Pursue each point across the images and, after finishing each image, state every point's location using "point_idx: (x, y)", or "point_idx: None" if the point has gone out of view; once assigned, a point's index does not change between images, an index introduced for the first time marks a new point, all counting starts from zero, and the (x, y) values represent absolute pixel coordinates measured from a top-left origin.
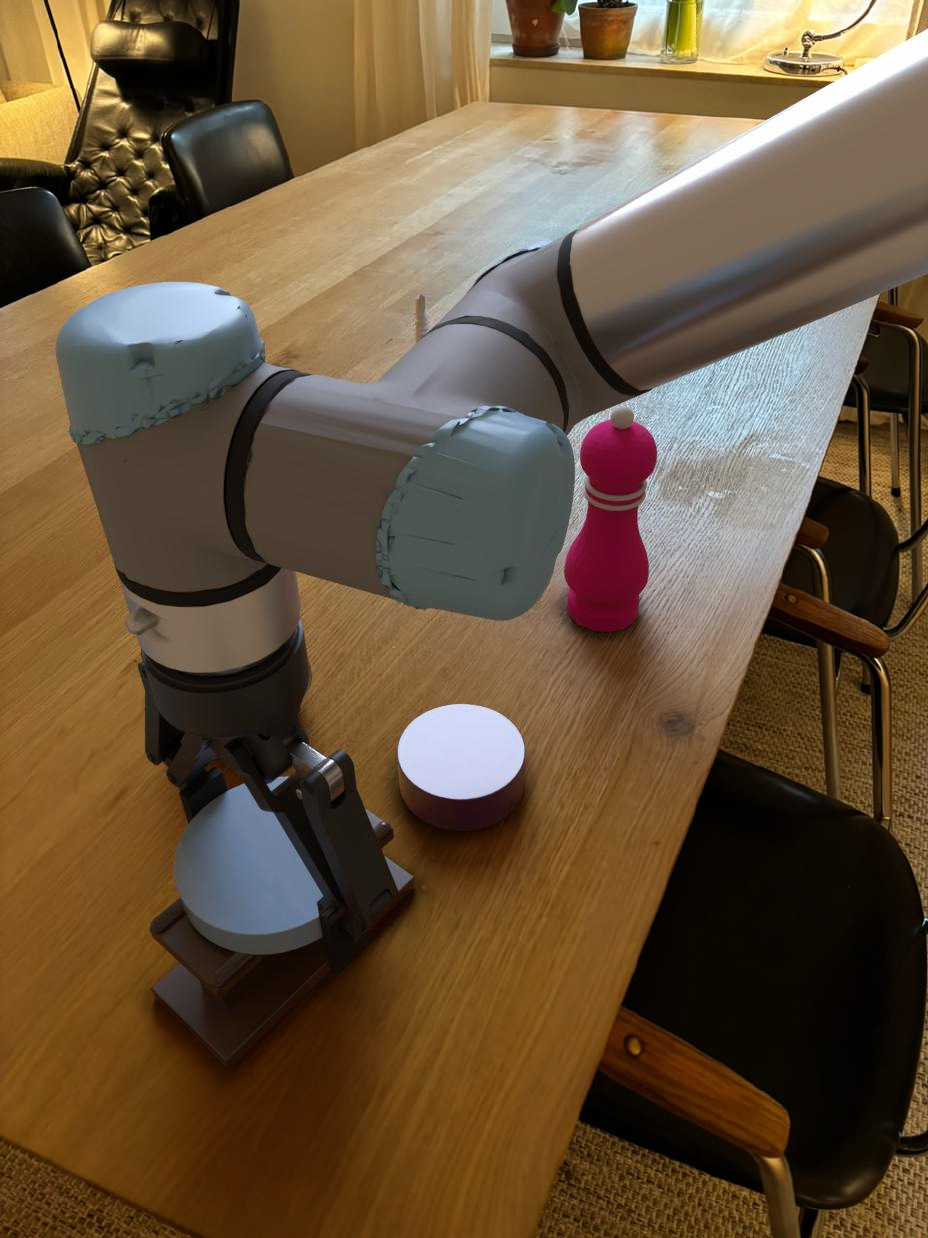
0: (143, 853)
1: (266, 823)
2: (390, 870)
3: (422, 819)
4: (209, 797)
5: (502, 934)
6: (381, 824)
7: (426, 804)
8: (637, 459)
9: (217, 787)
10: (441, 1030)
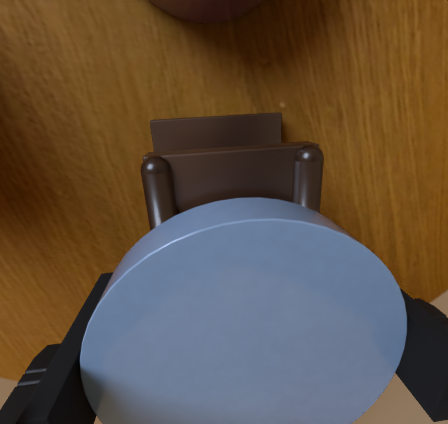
0: (30, 287)
1: (202, 353)
2: (253, 126)
3: (214, 22)
4: (79, 404)
5: (386, 88)
6: (311, 163)
7: (228, 6)
8: None
9: (68, 398)
10: (385, 204)
